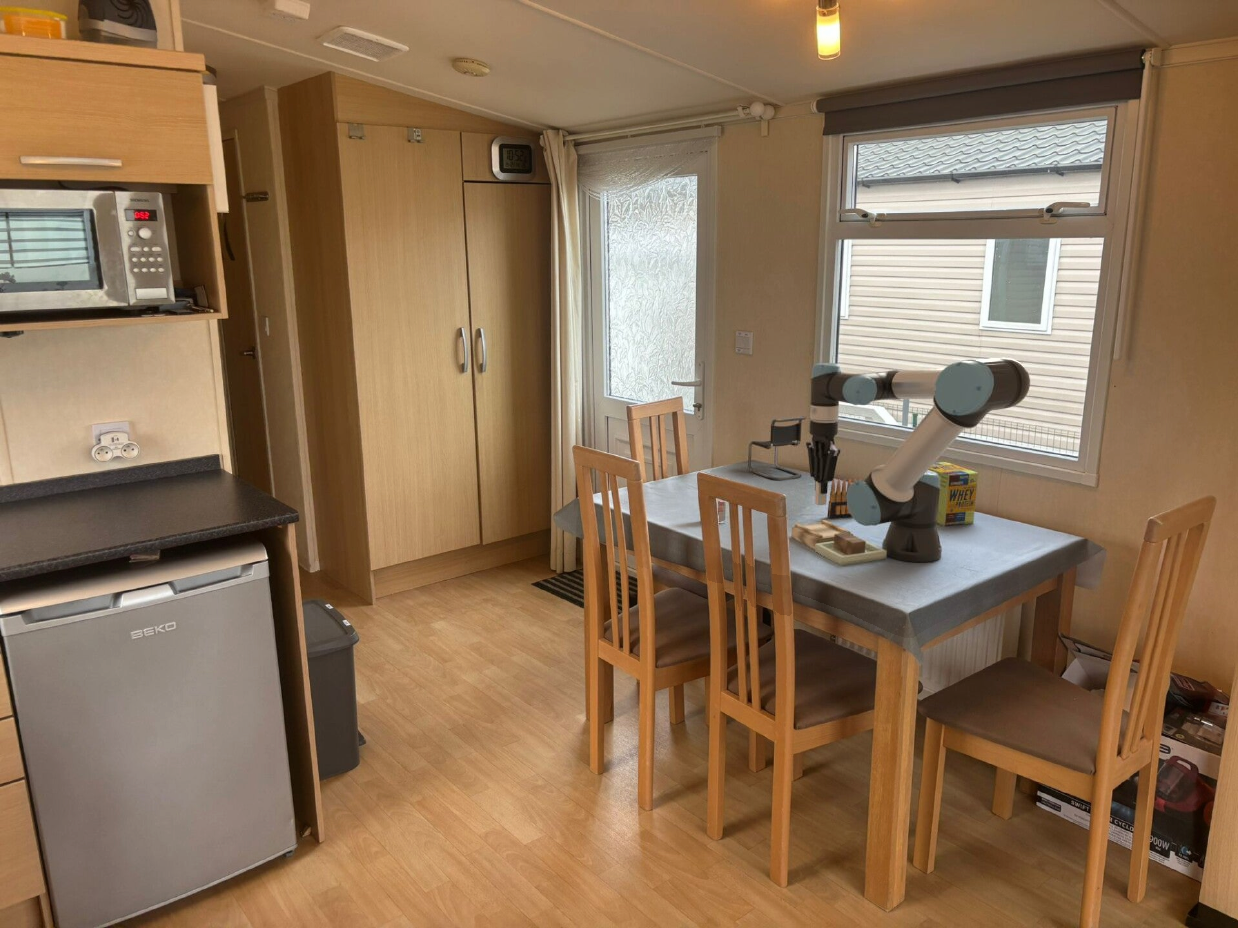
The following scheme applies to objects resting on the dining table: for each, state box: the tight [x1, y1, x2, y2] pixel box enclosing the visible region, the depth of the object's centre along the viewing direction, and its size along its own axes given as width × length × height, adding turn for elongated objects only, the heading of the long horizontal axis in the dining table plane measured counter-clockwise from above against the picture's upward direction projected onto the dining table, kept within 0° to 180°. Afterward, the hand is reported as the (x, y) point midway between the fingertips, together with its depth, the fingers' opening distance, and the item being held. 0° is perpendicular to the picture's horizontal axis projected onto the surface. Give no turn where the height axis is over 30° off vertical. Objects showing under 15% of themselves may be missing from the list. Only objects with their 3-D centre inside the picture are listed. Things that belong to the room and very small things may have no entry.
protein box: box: [928, 461, 979, 527], centre depth 273 cm, size 10×15×16 cm
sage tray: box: [814, 539, 887, 566], centre depth 241 cm, size 12×14×2 cm
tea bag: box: [718, 501, 726, 522], centre depth 269 cm, size 4×7×10 cm, turn 104°
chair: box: [747, 415, 807, 481], centre depth 325 cm, size 13×17×22 cm
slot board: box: [790, 519, 854, 550], centre depth 252 cm, size 12×12×4 cm
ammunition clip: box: [826, 477, 862, 520], centre depth 274 cm, size 11×2×12 cm, turn 103°
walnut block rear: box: [834, 532, 857, 553], centre depth 243 cm, size 4×4×4 cm
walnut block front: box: [843, 536, 867, 555], centre depth 239 cm, size 4×4×4 cm
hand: (820, 504), depth 252 cm, fingers closed
